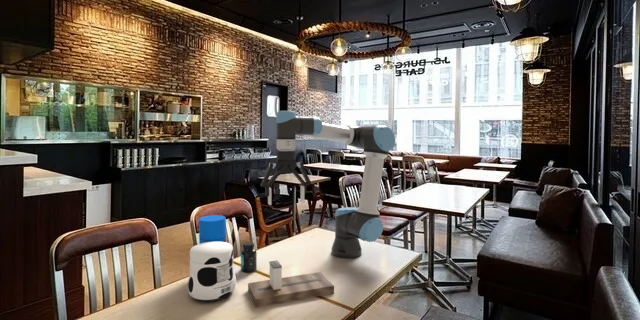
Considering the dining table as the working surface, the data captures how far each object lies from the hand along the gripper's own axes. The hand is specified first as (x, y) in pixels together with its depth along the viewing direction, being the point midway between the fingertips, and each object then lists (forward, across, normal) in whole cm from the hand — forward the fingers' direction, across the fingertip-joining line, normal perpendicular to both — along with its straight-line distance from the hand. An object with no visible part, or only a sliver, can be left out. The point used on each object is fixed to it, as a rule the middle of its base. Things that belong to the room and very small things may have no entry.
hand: (286, 203), depth 142 cm
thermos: (+33, -27, +17) cm, 46 cm away
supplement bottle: (+33, -12, +18) cm, 39 cm away
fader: (+29, -7, -9) cm, 31 cm away
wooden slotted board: (+33, -1, -9) cm, 34 cm away
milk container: (+33, -29, 0) cm, 44 cm away
